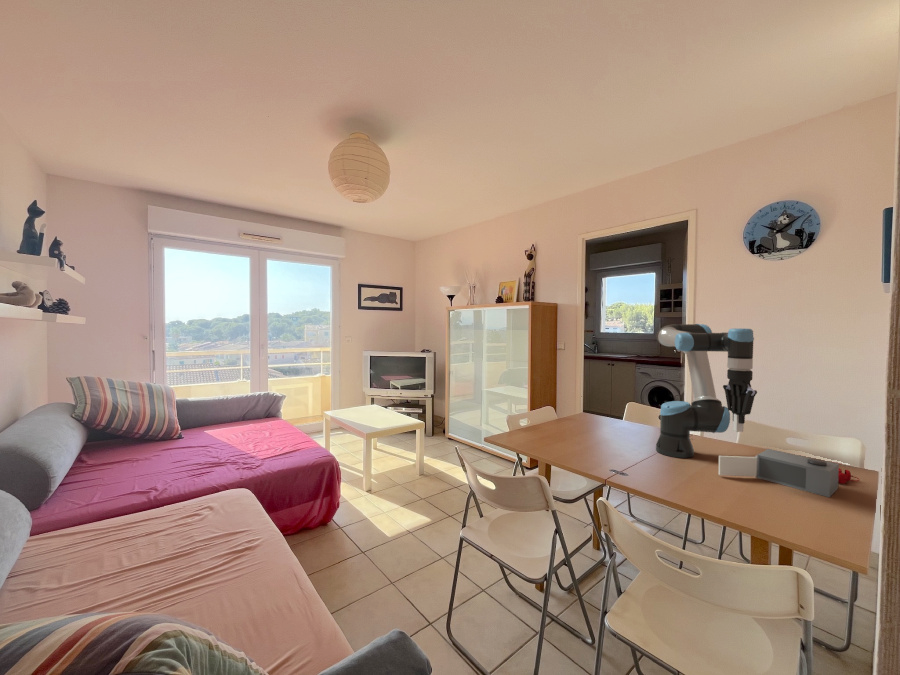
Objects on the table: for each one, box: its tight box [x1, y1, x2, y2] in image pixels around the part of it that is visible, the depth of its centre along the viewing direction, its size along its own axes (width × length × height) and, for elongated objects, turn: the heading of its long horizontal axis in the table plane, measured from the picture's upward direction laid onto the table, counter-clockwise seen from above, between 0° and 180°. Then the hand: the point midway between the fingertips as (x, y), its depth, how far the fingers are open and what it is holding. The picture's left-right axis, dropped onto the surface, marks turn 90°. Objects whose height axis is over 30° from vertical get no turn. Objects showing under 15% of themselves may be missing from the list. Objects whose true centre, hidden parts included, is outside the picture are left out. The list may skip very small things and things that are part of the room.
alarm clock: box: [838, 467, 861, 485], centre depth 143 cm, size 10×6×15 cm
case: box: [756, 448, 840, 498], centre depth 139 cm, size 20×12×10 cm, turn 34°
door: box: [718, 454, 759, 479], centre depth 145 cm, size 14×2×8 cm, turn 83°
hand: (738, 431), depth 142 cm, fingers closed
